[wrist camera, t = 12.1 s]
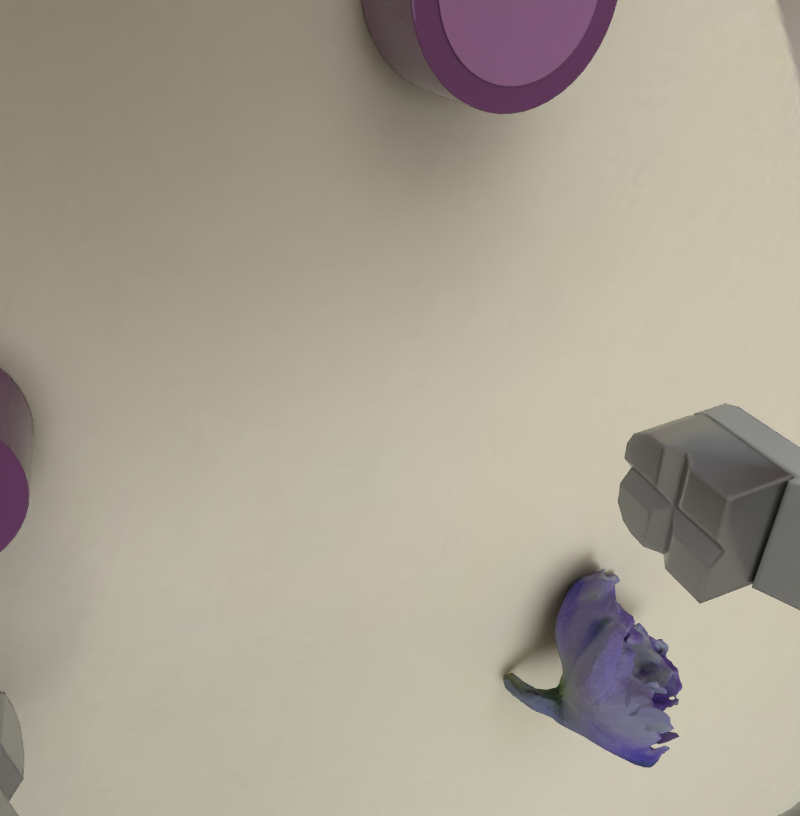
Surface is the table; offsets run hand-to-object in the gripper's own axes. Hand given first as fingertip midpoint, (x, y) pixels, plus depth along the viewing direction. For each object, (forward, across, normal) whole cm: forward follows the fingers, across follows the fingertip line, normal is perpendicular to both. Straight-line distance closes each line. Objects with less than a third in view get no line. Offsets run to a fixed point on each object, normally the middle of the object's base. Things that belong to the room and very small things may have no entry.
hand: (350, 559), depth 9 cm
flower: (+15, -16, +27) cm, 35 cm away
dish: (+15, -9, -5) cm, 18 cm away
